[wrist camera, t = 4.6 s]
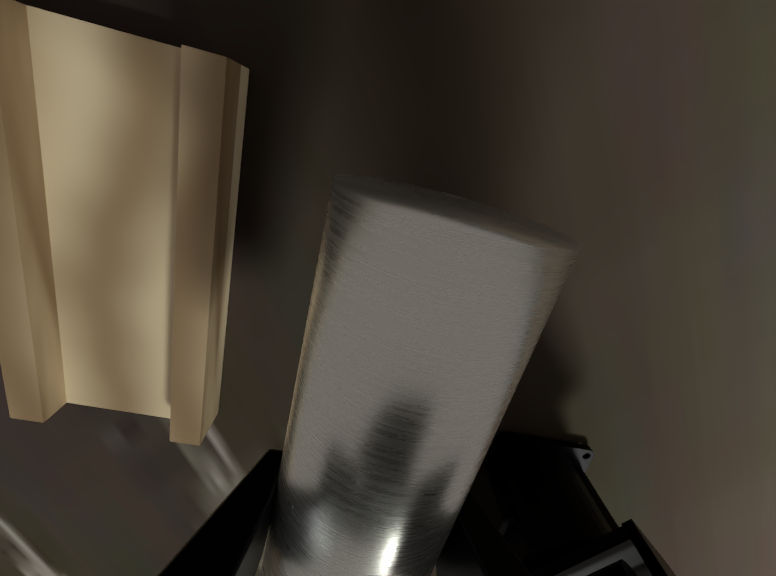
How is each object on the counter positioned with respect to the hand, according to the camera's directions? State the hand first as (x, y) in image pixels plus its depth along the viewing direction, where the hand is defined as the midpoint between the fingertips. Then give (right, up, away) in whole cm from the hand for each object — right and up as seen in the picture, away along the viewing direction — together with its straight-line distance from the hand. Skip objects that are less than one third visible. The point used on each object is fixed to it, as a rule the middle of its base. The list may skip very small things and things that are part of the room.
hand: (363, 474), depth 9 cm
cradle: (-12, +6, +8) cm, 16 cm away
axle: (0, +1, +1) cm, 1 cm away
